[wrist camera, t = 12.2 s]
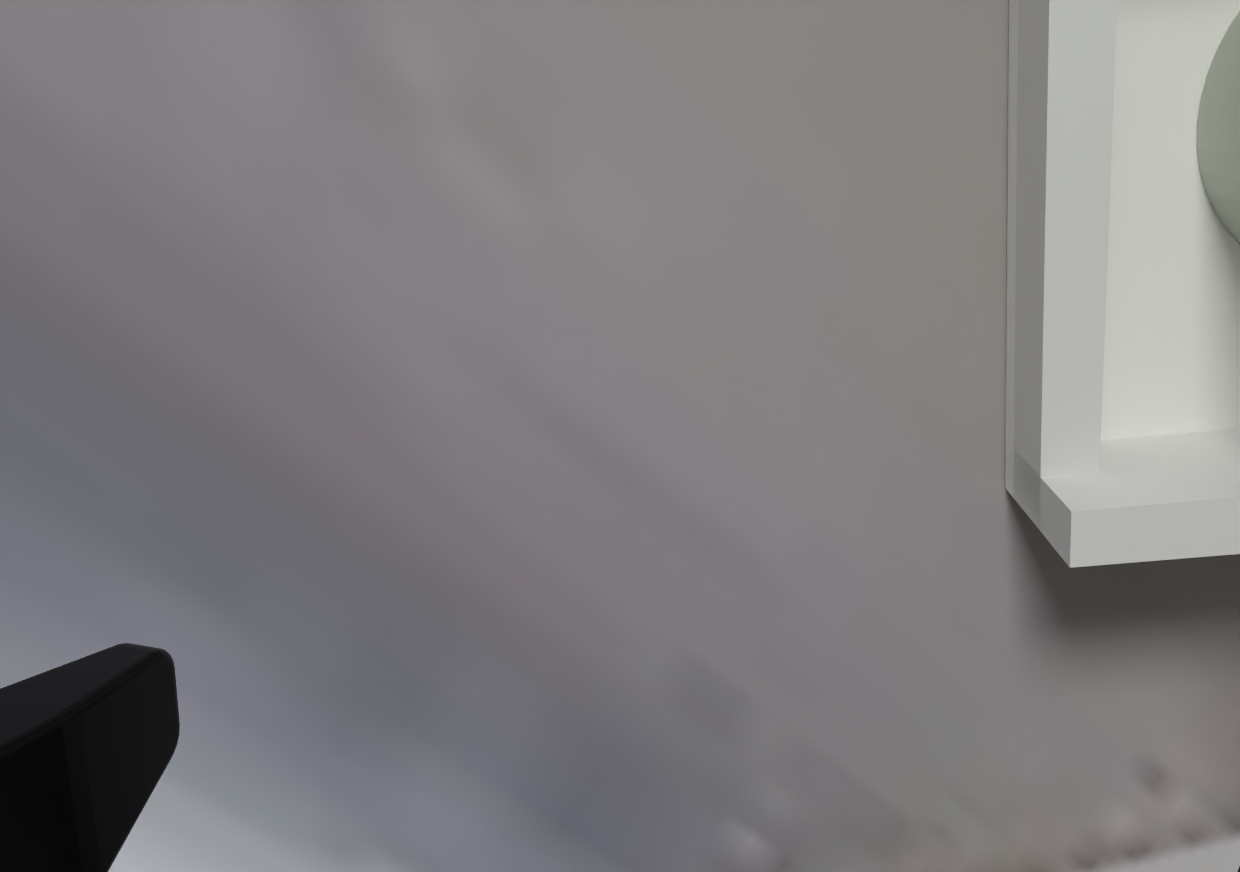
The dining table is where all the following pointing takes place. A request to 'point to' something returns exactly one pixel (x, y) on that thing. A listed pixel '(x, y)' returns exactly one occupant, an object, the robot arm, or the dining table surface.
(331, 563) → the dining table surface
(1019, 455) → the tray
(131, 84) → the dining table surface
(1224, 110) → the sage jar
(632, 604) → the dining table surface
